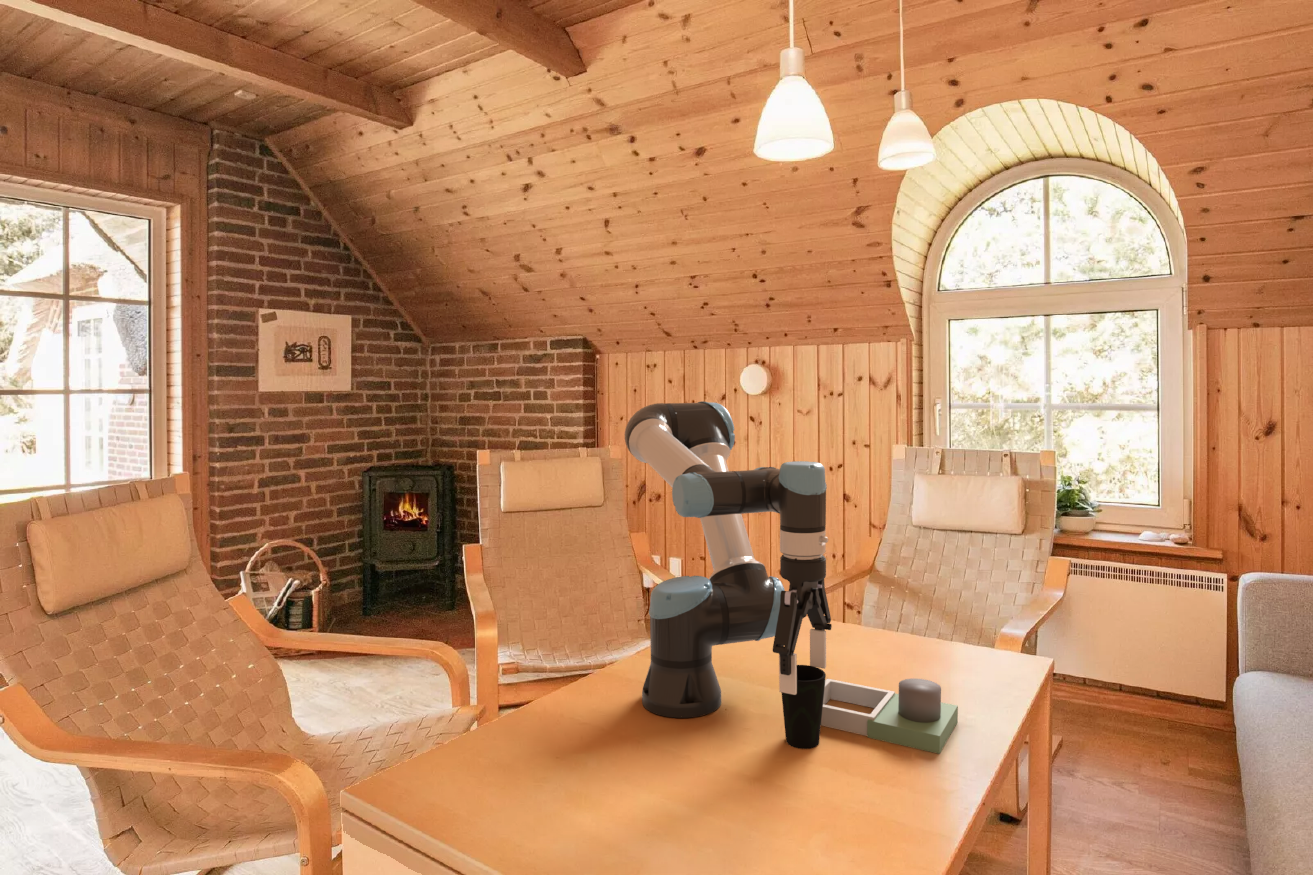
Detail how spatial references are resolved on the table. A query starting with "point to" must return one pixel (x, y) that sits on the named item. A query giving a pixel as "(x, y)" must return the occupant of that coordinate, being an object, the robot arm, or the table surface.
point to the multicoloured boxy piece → (893, 713)
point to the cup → (804, 708)
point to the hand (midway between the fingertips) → (803, 679)
